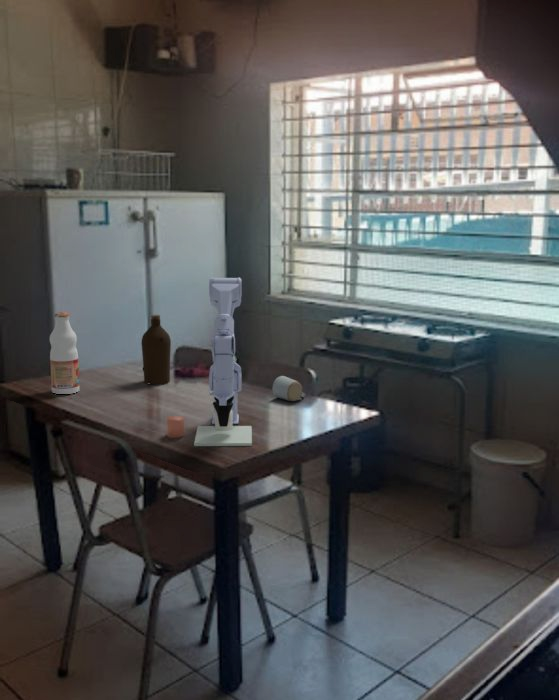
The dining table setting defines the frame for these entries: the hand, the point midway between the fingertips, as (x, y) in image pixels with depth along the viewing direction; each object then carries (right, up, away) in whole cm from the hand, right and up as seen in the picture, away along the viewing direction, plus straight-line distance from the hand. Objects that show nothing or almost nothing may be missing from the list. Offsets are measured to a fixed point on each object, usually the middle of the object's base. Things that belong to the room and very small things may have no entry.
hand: (223, 423), depth 217 cm
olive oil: (-30, +9, +64) cm, 71 cm away
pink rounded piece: (-14, -4, +2) cm, 15 cm away
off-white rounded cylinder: (0, -1, 0) cm, 1 cm away
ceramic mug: (+20, +4, +43) cm, 47 cm away
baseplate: (0, -4, +1) cm, 4 cm away
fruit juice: (-59, +6, +49) cm, 77 cm away
